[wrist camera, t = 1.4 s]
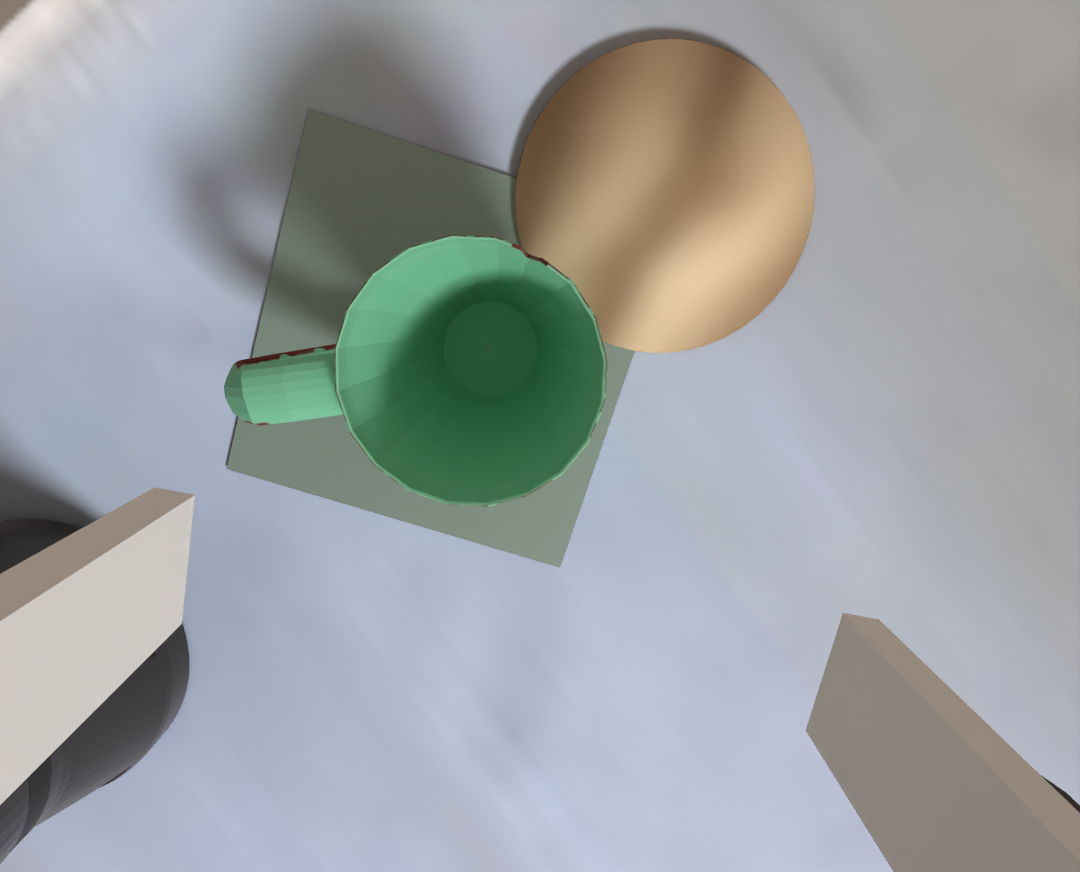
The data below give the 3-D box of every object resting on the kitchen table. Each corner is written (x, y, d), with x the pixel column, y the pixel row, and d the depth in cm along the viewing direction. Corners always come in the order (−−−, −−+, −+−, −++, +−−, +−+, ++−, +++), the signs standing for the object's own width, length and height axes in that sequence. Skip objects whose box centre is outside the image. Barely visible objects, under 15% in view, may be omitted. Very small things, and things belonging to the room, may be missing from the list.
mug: (579, 234, 34) (594, 216, 24) (599, 434, 36) (620, 492, 26) (278, 271, 34) (171, 268, 24) (316, 465, 36) (231, 535, 26)
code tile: (227, 467, 36) (226, 468, 36) (309, 109, 33) (308, 108, 32) (559, 566, 37) (559, 567, 37) (674, 231, 34) (675, 231, 34)
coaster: (479, 301, 34) (478, 302, 34) (568, -1, 32) (569, -6, 31) (746, 387, 35) (750, 389, 35) (856, 101, 32) (861, 97, 32)
